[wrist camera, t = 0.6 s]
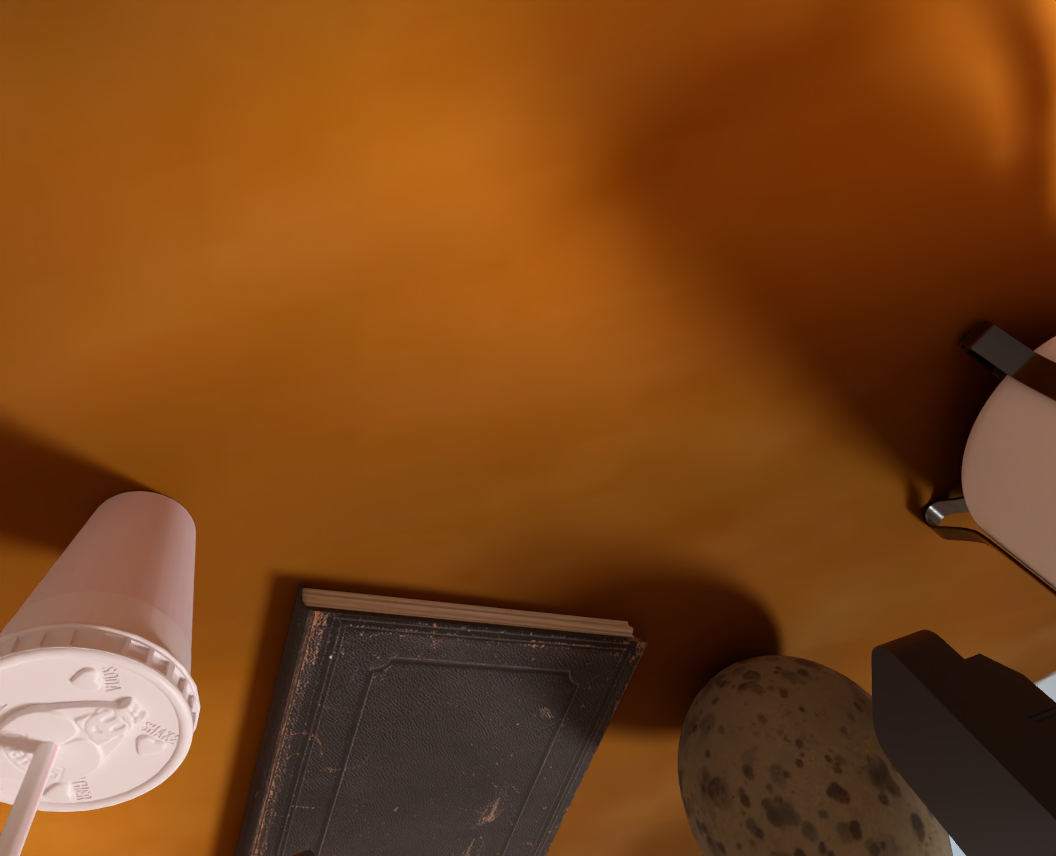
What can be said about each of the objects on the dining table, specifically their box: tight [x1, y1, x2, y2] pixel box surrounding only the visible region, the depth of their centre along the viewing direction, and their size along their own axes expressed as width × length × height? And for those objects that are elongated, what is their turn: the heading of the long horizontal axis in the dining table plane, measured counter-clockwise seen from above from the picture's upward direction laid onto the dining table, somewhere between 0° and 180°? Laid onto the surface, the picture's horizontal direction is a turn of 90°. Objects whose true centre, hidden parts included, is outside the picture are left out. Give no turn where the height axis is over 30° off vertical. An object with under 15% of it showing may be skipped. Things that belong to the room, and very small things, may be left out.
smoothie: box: [0, 491, 200, 856], centre depth 23 cm, size 6×6×14 cm
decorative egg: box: [678, 655, 953, 856], centre depth 35 cm, size 11×11×15 cm
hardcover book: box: [235, 583, 648, 856], centre depth 38 cm, size 16×23×2 cm
